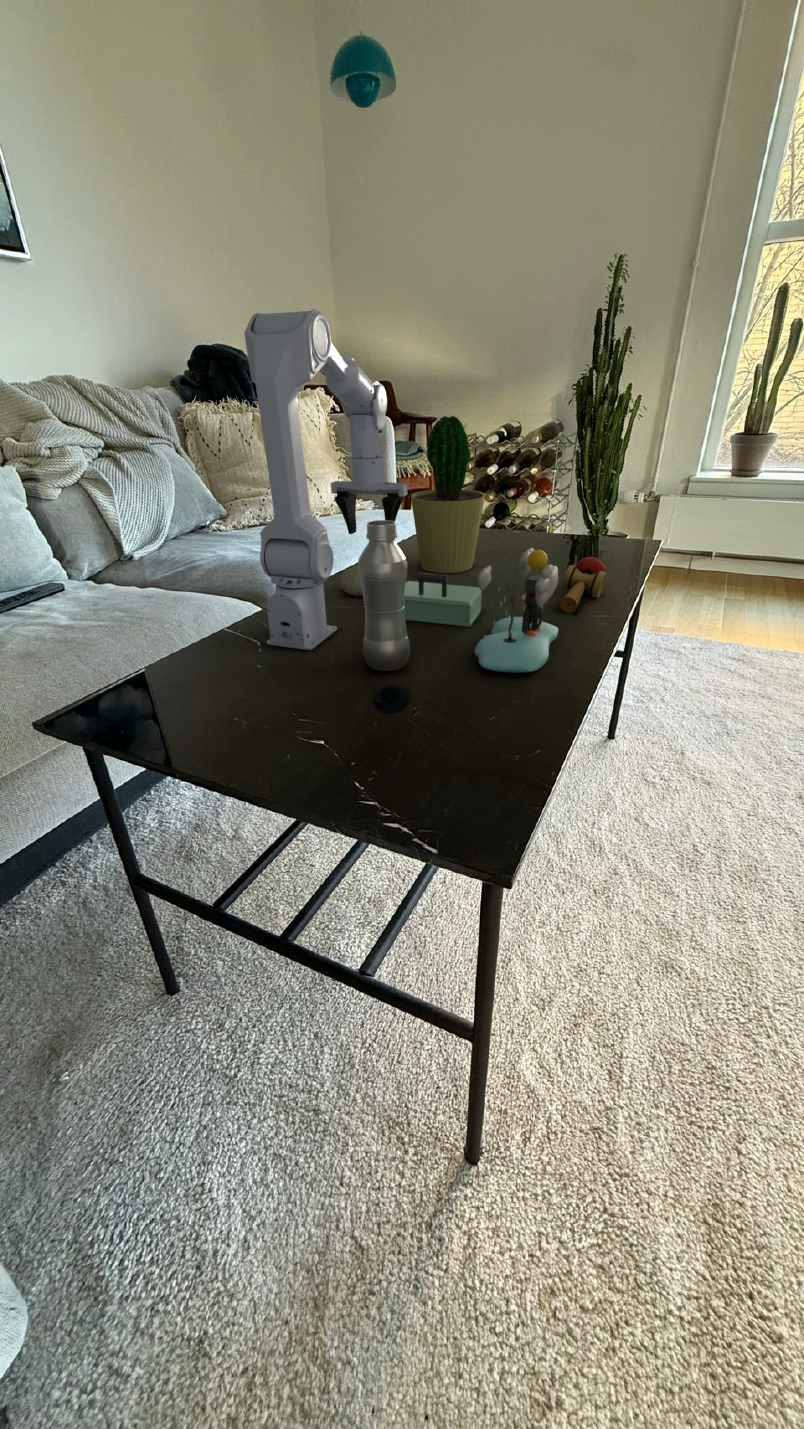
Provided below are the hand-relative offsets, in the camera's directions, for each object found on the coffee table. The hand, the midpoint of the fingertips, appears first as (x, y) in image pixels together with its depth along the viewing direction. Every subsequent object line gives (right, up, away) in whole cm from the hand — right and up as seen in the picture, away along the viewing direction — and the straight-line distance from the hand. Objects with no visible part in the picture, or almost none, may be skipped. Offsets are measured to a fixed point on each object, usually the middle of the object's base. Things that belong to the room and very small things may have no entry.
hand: (370, 534), depth 114 cm
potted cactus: (+16, -2, +17) cm, 23 cm away
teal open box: (+12, -17, -11) cm, 24 cm away
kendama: (+39, -13, -4) cm, 41 cm away
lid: (+12, -14, -13) cm, 22 cm away
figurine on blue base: (+23, -25, -25) cm, 42 cm away
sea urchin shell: (-1, -11, +2) cm, 11 cm away
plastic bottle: (+4, -28, -29) cm, 40 cm away
